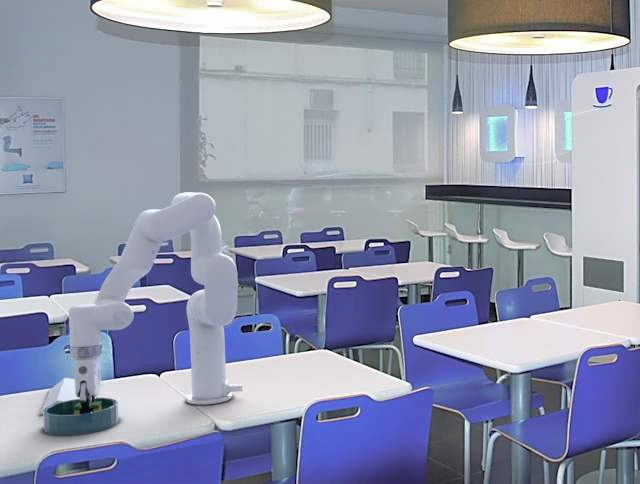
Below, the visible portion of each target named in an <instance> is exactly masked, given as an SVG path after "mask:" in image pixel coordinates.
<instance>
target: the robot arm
mask: <svg viewBox="0 0 640 484" xmlns="http://www.w3.org/2000/svg"><path fill="white" fill-rule="evenodd" d="M216 208H217V207H216V203H215V200H214V199H213V197H211V196H210V195H209V194H207V193H205V192H190V191H187V192H186V191H185V192H181V193H177V194H176V195H175V196H174V197H173V198H172V200H171V203H170V206H167V207H165V208H161V209H157V208H156V209H155V208H154V209H153V208H152V209H151V208H150V209H146V210H144V211H142V212H141V213H140V214H139V215H138V216H137V218H136V220H135V222H134V225H133V227H132V229H131V232H130V234H129V237H128V239H127V241H126V243H125V246H124V247H123V251H122V253H121V255H120V257H119V259H118V261H117V262H116V263H115V264H114V266H113V268H112V269H111V271H110V272H109V274H108V275H107V276H106V277H105V280H104V281H103V282H102V285H101V286H100V289H99V291H98V293H97V296H96V298H95V300H94V303H80V304H79V303H78V304H74V305H72V306H71V307H70V308H69V309H68V327H69V328H68V329H69V331H68V332H69V354H70V360H72V361H74V379H75V392H76V396H77V397H80V409H79V410H80V414H85V413H91V412H93V407H92V402H96V398H97V395H98V394H99V393H100V391H101V389H102V375H101V363H100V357H102V356H103V355H102V354H103V353H102V331H119V330H120V331H121V330H124V329H126V328H127V327H129V326H130V325H131V324H132V322H133V321H134V317H135V313H134V310H133V308H132V307H131V306H130V305H129V304H128V303H126V302H125V300H126V299H127V296H128V294H129V293H130V290H131V289H132V287H134V285H135V284H136V283H137V282H138V281H139V280H140V279H142V278H143V277H145V276H146V275H148V274H149V273H150V271H151V270H152V268H153V266H154V264H155V260H156V258H157V256H158V253H159V251H160V249H161V246H162V244H163V242H166V241H171V240H174V239H177V238H178V237H181V236H183V235H184V234H186V233H188V232H189V236H190V274H191V277H192V279H193V281H194V282H196V283H197V284H199V285H203V286H204V289H200V290H197V291H195V292H193V293H192V294H191V295H190V297H189V298H188V300H187V304H186V308H185V309H186V318H187V322H188V329H189V341H190V342H189V345H190V346H189V348H190V373H191V377H190V378H191V394H188V395H187V396H186V397H185V398H186V402H187V403H188V404H190V405H198V406H199V405H200V406H201V405H202V406H203V405H215V404H220V403H224V402H228V401H229V400H231V399H232V398H233V393H241V392H243V384H239V383H235V384H231V383H229V381H228V379H227V367H226V335H225V328H224V327H226V326H228V325H229V324H231V323H232V322H233V321H234V319H235V318H236V314H237V311H238V286H239V285H238V282H239V281H238V279H239V278H238V275H239V274H238V269H237V265H236V263H235V261H234V260H233V258H231V257H230V256H229V255H227V254H223V235H222V229H221V228H222V227H221V225H220V222H219V219H217V216H216V215H215V213H216V210H217V209H216Z"/></svg>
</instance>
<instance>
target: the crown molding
mask: <svg viewBox="0 0 640 484" xmlns="http://www.w3.org/2000/svg"><path fill="white" fill-rule="evenodd" d="M74 399H80V397H77V396H76V392H75V378H71V377H70V378H69V377H63V378H62V379H61V380H60V381H59V382H57V383H56V384H55V385H54V386H52V387H51V388H50V389H49V390H48V393H47V395H46V398H45V400H44V403H43V406H42V407H41V410H40V416H43V410H44V409H45V408H46V407H49V406H51V405H53V404H56V403H60V402H64V401H69V400H74Z"/></svg>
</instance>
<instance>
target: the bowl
mask: <svg viewBox="0 0 640 484" xmlns="http://www.w3.org/2000/svg"><path fill="white" fill-rule="evenodd" d="M97 401H101V404H102V410H100V411H95V412H91V413H85V414H76V415H74V406H75V405H76V404H77V403H80V399H74V400H69V401H64V402H60V403H56V404H53V405H51V406H49V407H46V408H45V409H44V410H43V414H42V417H43V418H42V421H43V431H44V433H46V434H48V435H53V436H78V435H85V434H93V433H96V432H100V431H104V430H107V429H110V428H112V427H113V426H115V425H117V424H118V422H119V404H118V401H117V399H114V398H109V397H96V402H97Z"/></svg>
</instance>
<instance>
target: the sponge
mask: <svg viewBox="0 0 640 484" xmlns="http://www.w3.org/2000/svg"><path fill="white" fill-rule="evenodd" d="M92 407H93V412H95V411H100V410H102V404H101V401H97V402H92ZM79 409H80V403H77V404H76V405H75V406H74V415H76V414H80V410H79Z"/></svg>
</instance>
